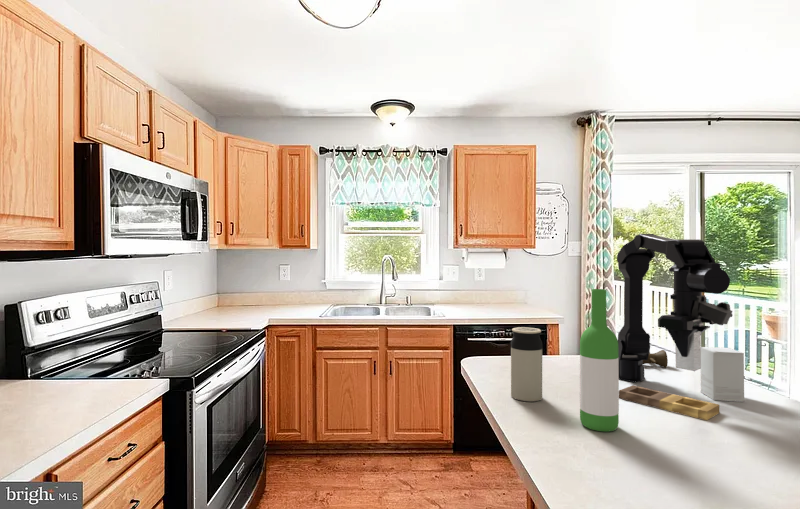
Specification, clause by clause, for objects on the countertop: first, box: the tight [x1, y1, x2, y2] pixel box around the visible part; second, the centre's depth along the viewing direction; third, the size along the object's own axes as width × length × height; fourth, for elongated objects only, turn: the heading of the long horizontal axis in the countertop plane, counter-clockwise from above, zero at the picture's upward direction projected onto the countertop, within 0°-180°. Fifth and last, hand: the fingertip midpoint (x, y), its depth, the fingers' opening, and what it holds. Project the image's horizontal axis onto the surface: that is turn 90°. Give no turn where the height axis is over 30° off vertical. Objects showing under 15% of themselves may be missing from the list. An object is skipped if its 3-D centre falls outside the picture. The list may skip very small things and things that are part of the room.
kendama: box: [643, 349, 669, 369], centre depth 154 cm, size 6×10×20 cm
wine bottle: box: [579, 288, 620, 433], centre depth 97 cm, size 8×8×30 cm
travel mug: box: [510, 326, 543, 403], centre depth 116 cm, size 8×8×18 cm
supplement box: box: [700, 346, 745, 403], centre depth 117 cm, size 7×7×13 cm
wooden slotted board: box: [619, 385, 720, 421], centre depth 110 cm, size 20×8×2 cm, turn 37°
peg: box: [674, 331, 702, 372], centre depth 106 cm, size 4×4×9 cm
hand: (688, 355), depth 106 cm, fingers closed on peg, 4 cm apart
